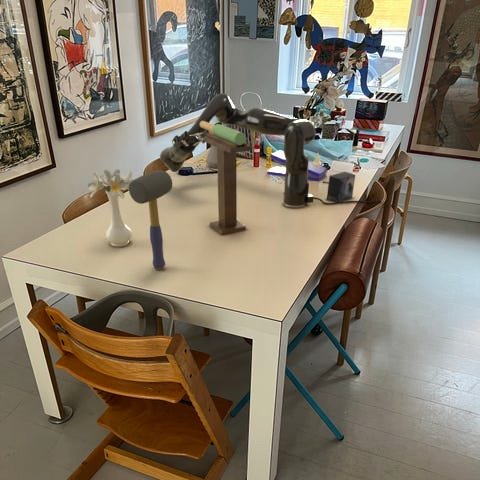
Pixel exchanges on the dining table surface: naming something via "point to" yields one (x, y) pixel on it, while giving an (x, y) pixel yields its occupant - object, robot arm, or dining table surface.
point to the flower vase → (114, 204)
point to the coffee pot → (212, 157)
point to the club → (224, 132)
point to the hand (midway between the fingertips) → (197, 132)
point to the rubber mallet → (152, 207)
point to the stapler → (280, 158)
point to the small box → (340, 186)
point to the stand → (226, 184)
